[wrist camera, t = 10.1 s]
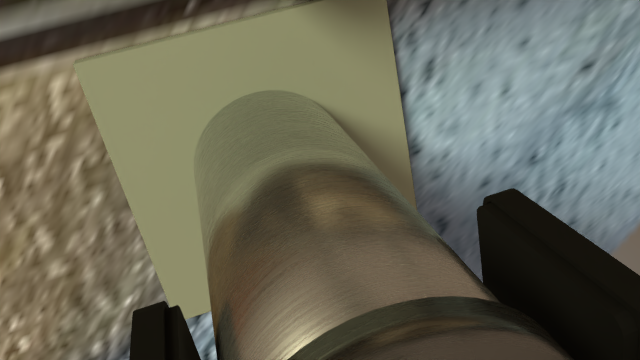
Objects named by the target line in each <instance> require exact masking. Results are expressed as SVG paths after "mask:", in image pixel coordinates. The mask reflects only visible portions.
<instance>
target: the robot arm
mask: <svg viewBox="0 0 640 360" xmlns="http://www.w3.org/2000/svg"><path fill="white" fill-rule="evenodd" d="M477 221H478V232H479V243H480V254H481V265H482V276H483V284H484V285H485V286H486V287H487V288H488V289H489V291H490V292H491V293H492V294H493V295H494V296H495V297H496V298H497V299H498V300H499V302H500V303H501V304H504V305H506V306H509V307H511V308H514V309H516V310H518V311H520V312H522V313H523V314H525V315H527V316H528V317H530V318H532V319H533V320H534V321H536V322H537V323H538V324H539V325H540V326H541V327H542V328H543V329H545V330H546V331H547V332H548V333H549V334H550V335H551V336H552V338H553V339H554V340H555V341H556V342H557V343H558V344H559V345H560V346H561V347H562V348H563V349H564V350H565V351H566V352H567V353H568V354H569V355H570V356H571V357H572V358H573V359H574V360H640V276H639V275H638V274H636V273H635V272H634V271H632V270H631V269H629V268H628V267H627V266H625V265H624V264H622V263H621V262H619V261H618V260H617V259H615V258H614V257H612V256H611V255H609V254H608V253H607V252H605V251H604V250H602V249H601V248H599V247H598V246H597V245H595V244H594V243H592V242H591V241H589V240H588V239H587V238H585V237H584V236H582V235H581V234H579V233H578V232H577V231H575V230H574V229H572V228H571V227H569V226H568V225H567V224H565V223H564V222H562V221H561V220H559V219H558V218H557V217H555V216H554V215H552V214H551V213H549V212H548V211H547V210H545V209H544V208H542V207H541V206H539V205H538V204H537V203H535V202H534V201H532V200H531V199H529V198H528V197H527V196H525V195H524V194H522V193H521V192H519V191H518V190H516V189H514V188H513V189H508V190H505V191H502V192H499V193H496V194H493V195H490V196H487V197H485V198H484V201H483V206H480V207H478V209H477ZM130 360H201V359H200V356H199V354H198V351H197V349H196V346H195V344H194V341H193V339H192V336H191V333H190V331H189V328H188V326H187V323H186V321H185V318H184V316H183V313H182V311H181V308H180V307H179V305H176V306H173V307H170V308H169V307H168V305H167V303H166V302H165V301H162V302H159V303H156V304H153V305H150V306H147V307H144V308H141V309H138V310H135V311H134V312H133V316H132V331H131V345H130Z"/></svg>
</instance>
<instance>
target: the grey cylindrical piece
mask: <svg viewBox="0 0 640 360" xmlns="http://www.w3.org/2000/svg"><path fill="white" fill-rule="evenodd" d="M194 176H195V185H196V193H197V201H198V209H199V217H200V225H201V233H202V241H203V249H204V257H205V265H206V273H207V281H208V289H209V297H210V305H211V313H212V321H213V329H214V337H215V345H216V353H217V360H574V359H573V358H572V357H571V356H570V355H569V354H568V353H567V352H566V351H565V350H564V349H563V348H562V347H561V346H560V345H559V344H558V343H557V342H556V341H555V340H554V339H553V338H552V336H551V335H550V334H549V333H548V332H547V331H546V330H545V329H543V328H542V327H541V326H540V325H539V324H538V323H537V322H536V321H534V320H533V319H532V318H530V317H528V316H527V315H525V314H523V313H522V312H520V311H518V310H516V309H514V308H511V307H509V306H506V305H504V304H501V303H500V302H499V300H498V299H497V298H496V297H495V296H494V295H493V294H492V293H491V292H490V291H489V289H488V288H487V287H486V286H485V285H484V284H483V283H482V282H481V281H480V280H479V278H478V277H477V276H476V275H475V274H474V273H473V272H472V271H471V270H470V269H469V267H468V266H467V265H466V264H465V263H464V262H463V261H462V260H461V259H460V258H459V256H458V255H457V254H456V253H455V252H454V251H453V250H452V249H451V248H450V247H449V245H448V244H447V243H446V242H445V241H444V240H443V239H442V238H441V237H440V236H439V234H438V233H437V232H436V231H435V230H434V229H433V228H432V227H431V226H430V225H429V223H428V222H427V221H426V220H425V219H424V218H423V217H422V216H421V215H420V214H419V212H418V211H417V210H416V209H415V208H414V207H413V206H412V205H411V204H410V203H409V201H408V200H407V199H406V198H405V197H404V196H403V195H402V194H401V193H400V192H399V190H398V189H397V188H396V187H395V186H394V185H393V184H392V183H391V182H390V181H389V179H388V178H387V177H386V176H385V175H384V174H383V173H382V172H381V171H380V170H379V168H378V167H377V166H376V165H375V164H374V163H373V162H372V161H371V160H370V159H369V157H368V156H367V155H366V154H365V153H364V152H363V151H362V150H361V149H360V148H359V146H358V145H357V144H356V143H355V142H354V141H353V140H352V139H351V138H350V137H349V135H348V134H347V133H346V132H345V131H344V130H343V129H342V128H341V127H340V126H339V124H338V123H337V122H336V121H335V120H334V119H333V118H332V117H331V116H330V115H329V113H328V112H327V111H326V110H324V109H323V108H322V107H321V106H320V105H319V104H317V103H316V102H314V101H313V100H311V99H309V98H307V97H305V96H303V95H300V94H297V93H293V92H288V91H281V90H267V91H260V92H255V93H251V94H248V95H245V96H242V97H240V98H238V99H236V100H234V101H232V102H231V103H229V104H228V105H226V106H225V107H224V108H222V109H221V110H220V111H219V112H218V113H217V114H216V115H215V116H214V117H213V118H212V119H211V120H210V121H209V123H208V124H207V126H206V127H205V129H204V130H203V132H202V134H201V136H200V138H199V141H198V144H197V147H196V150H195V156H194Z"/></svg>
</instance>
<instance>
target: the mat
mask: <svg viewBox="0 0 640 360" xmlns="http://www.w3.org/2000/svg"><path fill="white" fill-rule="evenodd" d="M73 66H74V69H75V71H76V74H77V76H78V79H79V81H80V83H81V86H82V88H83V91H84V93H85V96H86V98H87V101H88V103H89V106H90V108H91V111H92V113H93V116H94V118H95V121H96V123H97V126H98V128H99V131H100V133H101V136H102V138H103V141H104V143H105V146H106V148H107V151H108V153H109V156H110V158H111V161H112V163H113V165H114V168H115V170H116V173H117V175H118V178H119V180H120V183H121V185H122V188H123V190H124V193H125V195H126V198H127V200H128V203H129V205H130V208H131V210H132V213H133V215H134V218H135V220H136V223H137V225H138V228H139V230H140V233H141V235H142V238H143V240H144V242H145V245H146V247H147V250H148V252H149V255H150V257H151V260H152V262H153V265H154V267H155V270H156V272H157V275H158V277H159V280H160V282H161V285H162V287H163V290H164V292H165V295H166V297H167V300H168V302H169V305H170V307H173V306H176V305H179V307H180V308H181V311H182V313H183V316H184V318H185V319H188V318H191V317H194V316H197V315H200V314H203V313H206V312H209V311H211V305H210V297H209V289H208V281H207V273H206V265H205V257H204V249H203V241H202V233H201V225H200V217H199V209H198V201H197V193H196V185H195V176H194V156H195V150H196V147H197V144H198V141H199V138H200V136H201V134H202V132H203V130H204V129H205V127H206V126H207V124H208V123H209V121H210V120H211V119H212V118H213V117H214V116H215V115H216V114H217V113H218V112H219V111H220V110H221V109H222V108H224V107H225V106H226V105H228V104H229V103H231V102H232V101H234V100H236V99H238V98H240V97H242V96H245V95H248V94H251V93H255V92H260V91H267V90H281V91H288V92H293V93H297V94H300V95H303V96H305V97H307V98H309V99H311V100H313V101H314V102H316V103H317V104H319V105H320V106H321V107H322V108H323V109H324V110H326V111H327V112H328V113H329V115H330V116H331V117H332V118H333V119H334V120H335V121H336V122H337V123H338V124H339V126H340V127H341V128H342V129H343V130H344V131H345V132H346V133H347V134H348V135H349V137H350V138H351V139H352V140H353V141H354V142H355V143H356V144H357V145H358V146H359V148H360V149H361V150H362V151H363V152H364V153H365V154H366V155H367V156H368V157H369V159H370V160H371V161H372V162H373V163H374V164H375V165H376V166H377V167H378V168H379V170H380V171H381V172H382V173H383V174H384V175H385V176H386V177H387V178H388V179H389V181H390V182H391V183H392V184H393V185H394V186H395V187H396V188H397V189H398V190H399V192H400V193H401V194H402V195H403V196H404V197H405V198H406V199H407V200H408V201H409V203H410V204H411V205H412V206H413V207H414V208H415V209H416V210H417V207H416V200H415V193H414V186H413V179H412V172H411V166H410V159H409V152H408V145H407V138H406V131H405V124H404V118H403V111H402V104H401V97H400V90H399V83H398V76H397V70H396V63H395V56H394V49H393V42H392V35H391V28H390V22H389V15H388V8H387V1H386V0H313V1H309V2H305V3H301V4H297V5H293V6H289V7H285V8H281V9H277V10H273V11H270V12H266V13H262V14H258V15H254V16H250V17H246V18H242V19H238V20H234V21H230V22H226V23H222V24H218V25H214V26H210V27H206V28H202V29H199V30H195V31H191V32H187V33H183V34H179V35H175V36H171V37H167V38H163V39H159V40H155V41H151V42H147V43H143V44H139V45H135V46H131V47H128V48H124V49H120V50H116V51H112V52H108V53H104V54H100V55H96V56H92V57H88V58H84V59H80V60H76V61H75V62H74V63H73Z"/></svg>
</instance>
